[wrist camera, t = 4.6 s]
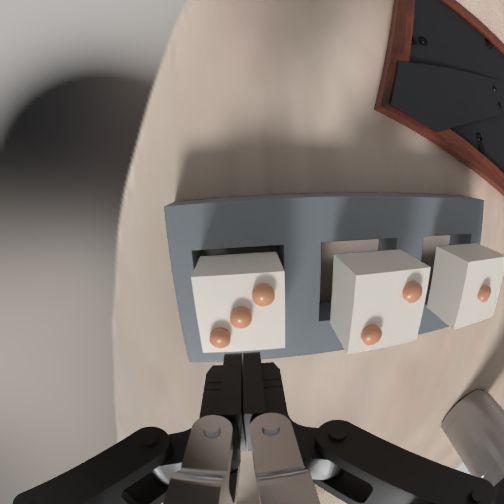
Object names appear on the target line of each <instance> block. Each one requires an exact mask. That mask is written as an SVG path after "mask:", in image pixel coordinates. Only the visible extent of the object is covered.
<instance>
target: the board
mask: <svg viewBox="0 0 504 504" xmlns="http://www.w3.org/2000/svg"><path fill="white" fill-rule="evenodd" d="M483 206H484V200H481V199H476V198H472V197H467V196H460V195H442V194H419V193H367V192H354V193H300V194H275V195H256V196H239V197H225V198H212V199H200V200H188V201H178V202H173V203H171V204H169V205H167V206H165V207H164V212H165V221H166V229H167V238H168V245H169V253H170V260H171V267H172V273H173V280H174V286H175V292H176V298H177V304H178V309H179V315H180V320H181V325H182V330H183V335H184V340H185V345H186V350H187V354H188V359H189V362H220V361H224V354H231V353H242V360H243V353H249V352H260V357H261V359H270V358H281V357H291V356H300V355H309V354H317V353H324V352H331V351H338V350H344V348H343V346H342V344H341V342H340V340H339V339H338V337H337V335H336V333H335V331H334V330H333V328H332V326H331V324H330V315H331V302H321V303H319V302H320V274H321V242H334V241H351V240H368V239H379V250H378V251H384V250H397V249H400V250H402V251H404V252H406V253H407V254H409V255H411V256H413V257H414V258H416V259H418V260H420V261H421V256H422V246H423V236H438V235H451V239H450V245H460V244H472V243H477V244H480V240H481V231H482V220H483ZM269 245H278V252H279V259H280V262H281V264H282V266H283V269H284V271H285V348H279V349H267V350H254V351H237V352H214V353H203V350H202V345H201V339H200V333H199V327H198V321H197V315H196V309H195V302H194V295H193V288H192V281H191V276H192V273H193V271H194V269H195V267H196V265H197V262H198V260H199V258H200V254H199V250H208V249H223V248H238V247H254V246H269ZM429 293H430V288H427V294H426V299H425V304H424V309H423V314H422V318H421V323H420V327H419V331H418V335H419V334H423V333H427V332H430V331H434V330H438V329H442V328H445V327H449V326H448V325H447V324H446V323H445V322H444V321H442V320H441V319H440V318H439V317H438V316H437V315H435V314H434V313H433V312H432V311H431V310H430V309H428V308H427V303H428V298H429Z"/></svg>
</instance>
